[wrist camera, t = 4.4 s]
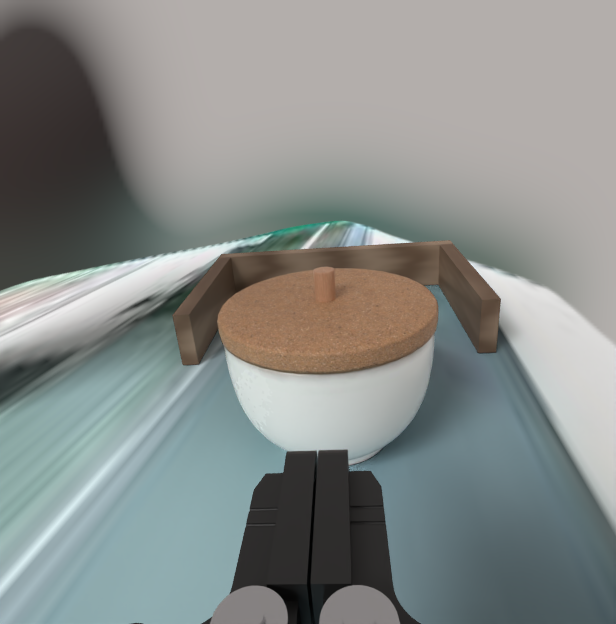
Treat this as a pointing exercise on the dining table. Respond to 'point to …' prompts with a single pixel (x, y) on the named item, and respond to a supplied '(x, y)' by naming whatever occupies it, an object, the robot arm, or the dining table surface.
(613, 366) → the dining table surface
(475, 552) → the dining table surface
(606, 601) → the dining table surface
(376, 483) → the robot arm
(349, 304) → the lidded jar
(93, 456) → the dining table surface
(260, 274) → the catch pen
